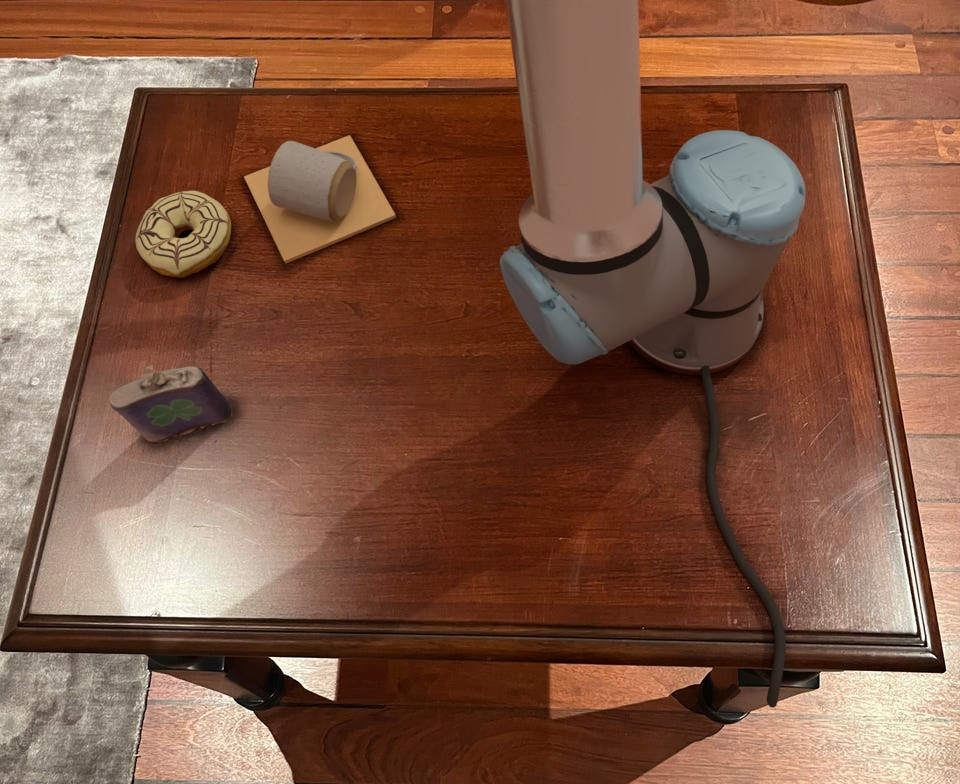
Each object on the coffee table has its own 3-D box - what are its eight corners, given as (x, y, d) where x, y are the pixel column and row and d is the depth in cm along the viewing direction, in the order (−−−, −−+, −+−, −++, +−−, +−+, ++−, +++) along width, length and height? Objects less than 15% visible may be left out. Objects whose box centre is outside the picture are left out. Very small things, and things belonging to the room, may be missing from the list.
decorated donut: (125, 252, 93) (110, 232, 90) (191, 193, 97) (180, 172, 93) (187, 297, 90) (174, 278, 87) (253, 234, 94) (243, 214, 90)
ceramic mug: (340, 236, 92) (327, 192, 86) (276, 219, 94) (258, 174, 87) (374, 169, 97) (364, 122, 90) (312, 154, 98) (298, 106, 91)
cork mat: (396, 218, 94) (395, 214, 94) (285, 264, 92) (284, 261, 91) (350, 138, 100) (349, 134, 99) (245, 179, 97) (243, 176, 97)
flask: (147, 447, 82) (100, 403, 73) (143, 422, 84) (96, 376, 74) (235, 420, 83) (200, 373, 74) (230, 396, 85) (194, 347, 75)
